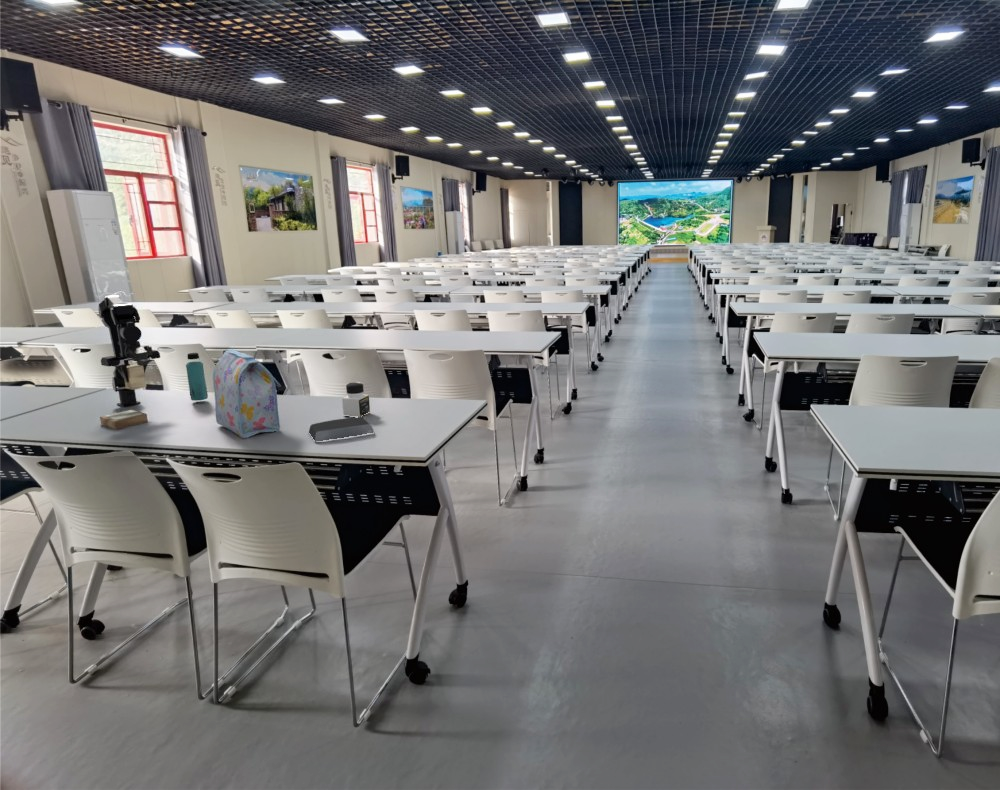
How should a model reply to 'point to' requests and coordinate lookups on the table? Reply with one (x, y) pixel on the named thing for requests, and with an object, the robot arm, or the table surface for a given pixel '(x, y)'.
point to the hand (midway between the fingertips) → (135, 380)
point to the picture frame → (123, 419)
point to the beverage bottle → (196, 378)
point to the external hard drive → (340, 428)
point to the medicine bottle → (355, 400)
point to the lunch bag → (245, 395)
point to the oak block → (135, 377)
